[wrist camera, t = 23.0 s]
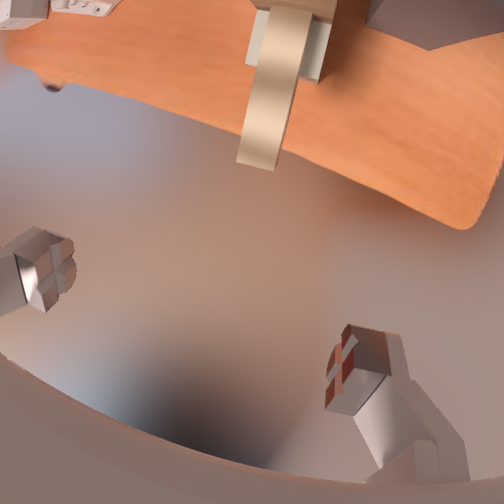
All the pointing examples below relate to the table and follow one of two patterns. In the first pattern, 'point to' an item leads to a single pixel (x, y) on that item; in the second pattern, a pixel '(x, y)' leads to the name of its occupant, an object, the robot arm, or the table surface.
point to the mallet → (278, 76)
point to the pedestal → (436, 20)
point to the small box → (22, 13)
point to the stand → (312, 53)
